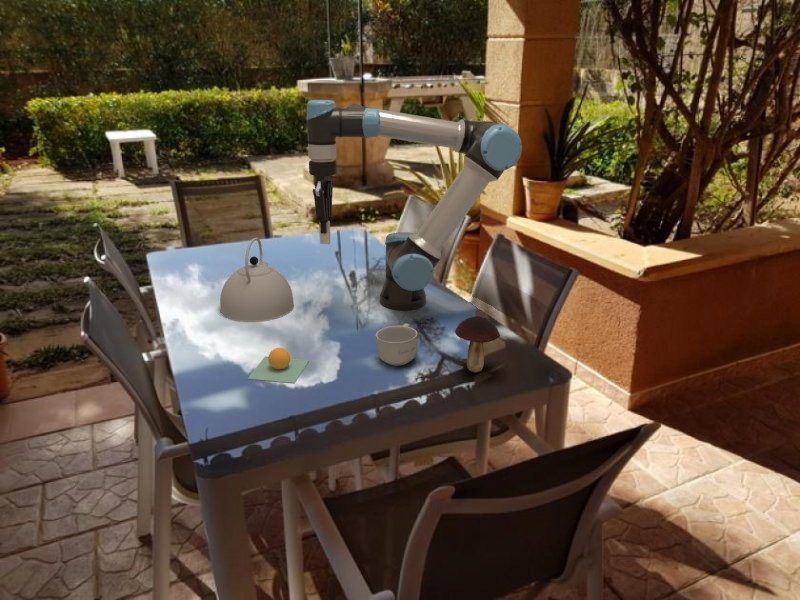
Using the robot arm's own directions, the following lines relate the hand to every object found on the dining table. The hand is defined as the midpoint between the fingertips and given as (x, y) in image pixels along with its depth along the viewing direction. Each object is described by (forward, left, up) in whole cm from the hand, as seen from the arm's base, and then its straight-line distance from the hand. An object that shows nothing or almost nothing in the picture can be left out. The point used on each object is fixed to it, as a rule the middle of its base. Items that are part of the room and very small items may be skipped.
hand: (325, 243), depth 170 cm
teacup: (-25, +20, -25) cm, 40 cm away
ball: (+4, +31, -22) cm, 38 cm away
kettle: (+25, -7, -25) cm, 36 cm away
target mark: (+4, +32, -24) cm, 40 cm away
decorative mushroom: (-45, +24, -25) cm, 57 cm away
